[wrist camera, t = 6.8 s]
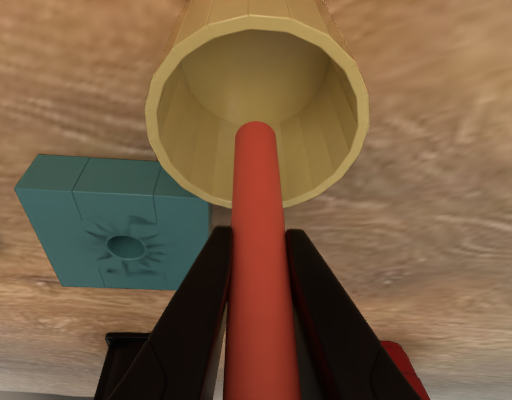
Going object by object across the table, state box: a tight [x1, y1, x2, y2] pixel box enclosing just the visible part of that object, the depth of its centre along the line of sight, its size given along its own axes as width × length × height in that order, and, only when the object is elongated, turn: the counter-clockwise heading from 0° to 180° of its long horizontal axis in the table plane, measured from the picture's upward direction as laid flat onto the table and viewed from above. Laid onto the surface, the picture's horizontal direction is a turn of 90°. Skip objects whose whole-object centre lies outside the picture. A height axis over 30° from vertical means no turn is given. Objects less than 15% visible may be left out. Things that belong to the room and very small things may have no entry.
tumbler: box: [144, 0, 369, 209], centre depth 15 cm, size 8×8×6 cm
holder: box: [14, 154, 212, 290], centre depth 23 cm, size 10×9×3 cm
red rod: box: [223, 121, 302, 400], centre depth 9 cm, size 1×1×9 cm
